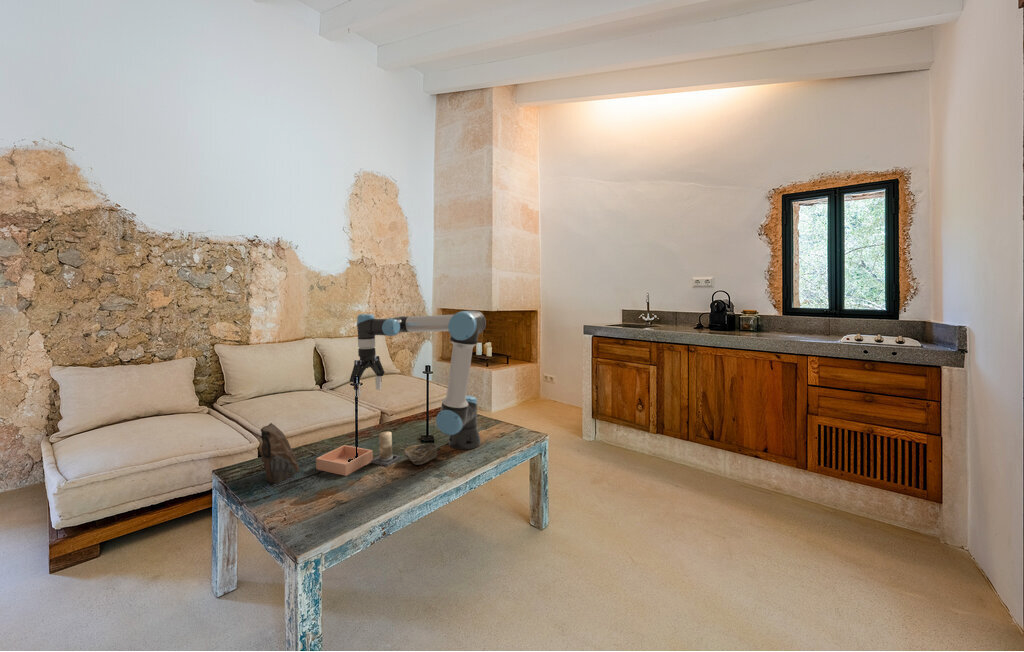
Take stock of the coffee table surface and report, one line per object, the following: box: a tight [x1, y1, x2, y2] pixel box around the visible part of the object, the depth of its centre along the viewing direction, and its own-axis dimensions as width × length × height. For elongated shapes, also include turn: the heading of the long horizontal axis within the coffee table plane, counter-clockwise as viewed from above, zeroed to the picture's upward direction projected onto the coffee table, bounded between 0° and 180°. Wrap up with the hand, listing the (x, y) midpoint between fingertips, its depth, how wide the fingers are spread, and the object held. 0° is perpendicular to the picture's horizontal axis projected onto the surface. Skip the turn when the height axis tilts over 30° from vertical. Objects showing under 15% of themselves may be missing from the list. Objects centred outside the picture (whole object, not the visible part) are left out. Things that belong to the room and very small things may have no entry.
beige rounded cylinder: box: [378, 431, 394, 463], centre depth 179 cm, size 6×6×12 cm
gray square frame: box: [370, 454, 402, 467], centre depth 180 cm, size 9×9×1 cm
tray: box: [315, 444, 374, 477], centre depth 175 cm, size 16×16×5 cm
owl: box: [259, 422, 301, 484], centre depth 164 cm, size 13×13×20 cm
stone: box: [403, 443, 438, 466], centre depth 179 cm, size 14×10×10 cm
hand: (368, 392), depth 195 cm, fingers open, 13 cm apart
